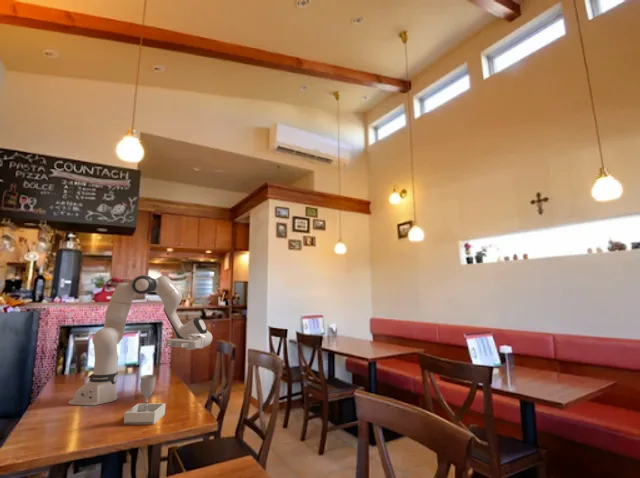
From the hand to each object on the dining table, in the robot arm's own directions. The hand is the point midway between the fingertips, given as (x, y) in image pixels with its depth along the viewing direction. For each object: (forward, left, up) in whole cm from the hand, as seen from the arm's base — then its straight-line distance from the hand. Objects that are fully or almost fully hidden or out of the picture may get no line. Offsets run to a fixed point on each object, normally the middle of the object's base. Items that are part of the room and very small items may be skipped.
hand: (173, 345), depth 188 cm
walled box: (-3, -23, -30) cm, 38 cm away
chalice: (-3, -23, -29) cm, 37 cm away
